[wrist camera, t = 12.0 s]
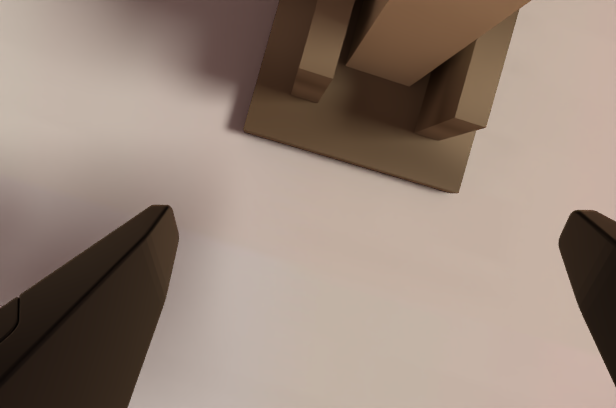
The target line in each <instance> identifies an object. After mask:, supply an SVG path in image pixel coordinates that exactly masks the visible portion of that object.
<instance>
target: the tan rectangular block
mask: <svg viewBox="0 0 616 408" xmlns="http://www.w3.org/2000/svg"><path fill="white" fill-rule="evenodd" d="M530 1H531V0H364V2H363V5H362V9H361V12H360V16H359V19H358V23H357V26H356V30H355V33H354V37H353V41H352V44H351V48H350V51H349V55H348V58H347V62H346V65H345V66H347V67H350V68H353V69H356V70H359V71H363V72H366V73H369V74H372V75H375V76H378V77H381V78H384V79H387V80H390V81H393V82H396V83H400V84H403V85H406V86H409V87H410V86H411V85H413V84H414V83H415V82H417V81H418V80H420V79H421V78H422V77H424V76H425V75H427V74H428V73H429V72H431V71H432V70H434V69H435V68H436V67H438V66H439V65H441V64H442V63H444V62H445V61H446V60H448V59H449V58H451V57H452V56H453V55H455V54H456V53H458V52H459V51H460V50H462V49H463V48H465V47H466V46H468V45H469V44H470V43H472V42H473V41H475V40H476V39H477V38H479V37H480V36H482V35H483V34H484V33H486V32H487V31H489V30H490V29H491V28H493V27H494V26H496V25H497V24H499V23H500V22H501V21H503V20H504V19H506V18H507V17H508V16H510V15H511V14H513V13H514V12H515V11H517V10H518V9H520V8H521V7H523V6H524V5H525V4H527V3H528V2H530Z"/></svg>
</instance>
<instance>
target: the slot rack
mask: <svg viewBox="0 0 616 408" xmlns="http://www.w3.org/2000/svg"><path fill="white" fill-rule="evenodd" d="M363 2H364V0H280V1H279V4H278V8H277V11H276V15H275V18H274V22H273V25H272V29H271V32H270V36H269V40H268V43H267V47H266V50H265V54H264V57H263V61H262V64H261V68H260V72H259V75H258V79H257V82H256V86H255V89H254V93H253V96H252V100H251V104H250V107H249V111H248V114H247V118H246V121H245V125H244V128H243V130H244V132H246V133H249V134H253V135H256V136H260V137H263V138H266V139H270V140H273V141H276V142H280V143H283V144H287V145H290V146H293V147H297V148H300V149H303V150H307V151H310V152H314V153H317V154H320V155H324V156H327V157H330V158H334V159H337V160H341V161H344V162H347V163H351V164H354V165H357V166H361V167H364V168H368V169H371V170H374V171H378V172H381V173H384V174H388V175H391V176H395V177H398V178H401V179H405V180H408V181H411V182H415V183H418V184H422V185H425V186H428V187H432V188H435V189H438V190H442V191H445V192H449V193H459V189H460V186H461V182H462V179H463V175H464V172H465V168H466V165H467V161H468V157H469V154H470V150H471V147H472V143H473V140H474V136H475V133H476V130H479V129H482V128H486V125H487V122H488V118H489V115H490V111H491V108H492V104H493V100H494V97H495V93H496V90H497V86H498V83H499V79H500V76H501V72H502V69H503V65H504V61H505V58H506V54H507V51H508V47H509V44H510V40H511V37H512V33H513V30H514V26H515V22H516V19H517V15H518V12H519V9H518V10H517V11H515V12H514V13H513V14H511V15H510V16H508V17H507V18H506V19H504V20H503V21H501V22H500V23H499V24H497V25H496V26H494V27H493V28H491V29H490V30H489V31H487V32H486V33H484V34H483V35H482V36H480V37H479V38H477V39H476V40H475V41H473V42H472V43H470V44H469V45H468V46H466V47H465V48H463V49H462V50H460V51H459V52H458V53H456V54H455V55H453V56H452V57H451V58H449V59H448V60H446V61H445V62H444V63H442V64H441V65H439V66H438V67H436V68H435V69H434V70H432V71H431V72H429V73H428V74H427V75H425V76H424V77H422V78H421V79H420V80H418V81H417V82H415V83H414V84H413V85H411V86H410V87H409V86H406V85H403V84H400V83H396V82H393V81H390V80H387V79H384V78H381V77H378V76H375V75H372V74H369V73H366V72H363V71H359V70H356V69H353V68H350V67H347V66H345V65H346V62H347V58H348V55H349V51H350V48H351V44H352V41H353V37H354V33H355V30H356V26H357V23H358V19H359V16H360V12H361V9H362V5H363Z"/></svg>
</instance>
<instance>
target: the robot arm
mask: <svg viewBox="0 0 616 408" xmlns="http://www.w3.org/2000/svg"><path fill="white" fill-rule="evenodd" d="M178 241H179V233H178V229H177V225H176V221H175V217H174V213H173V210H172V208H171V207H170V206H169V205H151V206H150V207H148V208H147V209H145V210H144V211H142V212H141V213H139V214H138V215H136V216H135V217H133V218H132V219H131V220H129V221H128V222H126V223H125V224H123V225H122V226H120V227H119V228H117V229H116V230H114V231H113V232H111V233H110V234H109V235H107V236H106V237H104V238H103V239H101V240H100V241H98V242H97V243H95V244H94V245H92V246H91V247H89V248H88V249H87V250H85V251H84V252H82V253H81V254H79V255H78V256H76V257H75V258H73V259H72V260H70V261H69V262H67V263H66V264H65V265H63V266H62V267H60V268H59V269H57V270H56V271H54V272H53V273H51V274H50V275H48V276H47V277H45V278H44V279H42V280H41V281H40V282H38V283H37V284H35V285H34V286H32V287H31V288H29V289H28V290H26V291H25V292H23V293H22V294H21V295H20V296H19V298H18V297H16V298H14V299H13V300H12V301H10V302H9V303H7V304H6V305H4V306H3V307H1V308H0V408H128V405H129V402H130V399H131V396H132V393H133V391H134V388H135V385H136V382H137V379H138V376H139V374H140V371H141V368H142V365H143V362H144V359H145V357H146V354H147V351H148V348H149V345H150V342H151V340H152V337H153V334H154V331H155V328H156V326H157V323H158V320H159V317H160V314H161V311H162V309H163V305H164V302H165V299H166V295H167V291H168V287H169V283H170V278H171V273H172V269H173V264H174V260H175V255H176V251H177V246H178ZM559 249H560V253H561V256H562V259H563V262H564V265H565V268H566V271H567V274H568V277H569V280H570V283H571V286H572V289H573V292H574V295H575V298H576V300H577V303H578V306H579V308H580V311H581V313H582V315H583V318H584V320H585V322H586V324H587V326H588V328H589V331H590V333H591V335H592V337H593V339H594V341H595V343H596V346H597V348H598V350H599V352H600V354H601V356H602V359H603V361H604V363H605V365H606V367H607V369H608V371H609V374H610V376H611V378H612V380H613V382H614V384H615V387H616V221H614V220H612V219H610V218H608V217H606V216H604V215H602V214H601V213H599V212H597V211H594V210H575V211H573V212H572V213H571V214H570V216H569V218H568V220H567V222H566V224H565V227H564V229H563V231H562V233H561V235H560V238H559Z"/></svg>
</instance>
